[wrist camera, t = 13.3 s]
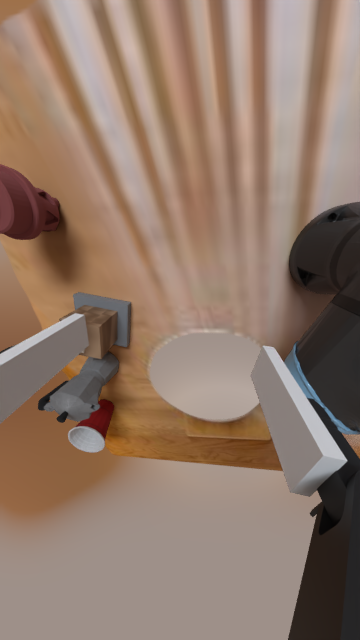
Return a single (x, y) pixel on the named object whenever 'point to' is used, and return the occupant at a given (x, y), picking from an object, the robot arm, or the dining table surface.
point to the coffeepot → (81, 390)
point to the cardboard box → (98, 329)
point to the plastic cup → (93, 429)
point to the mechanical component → (25, 207)
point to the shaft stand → (111, 304)
